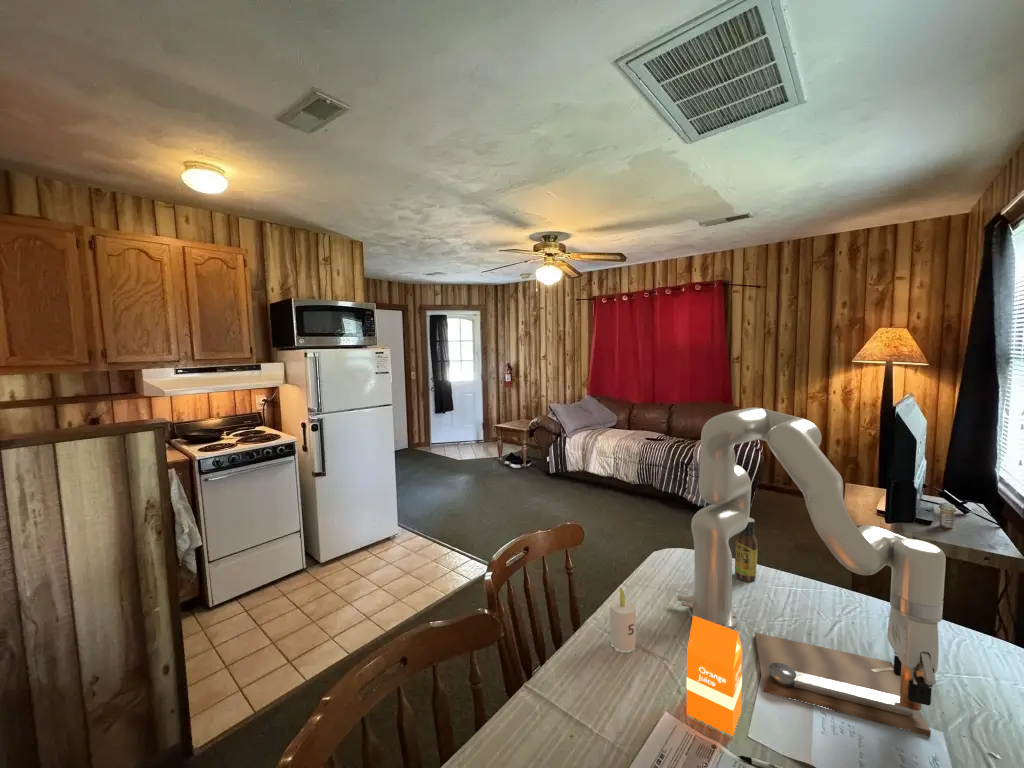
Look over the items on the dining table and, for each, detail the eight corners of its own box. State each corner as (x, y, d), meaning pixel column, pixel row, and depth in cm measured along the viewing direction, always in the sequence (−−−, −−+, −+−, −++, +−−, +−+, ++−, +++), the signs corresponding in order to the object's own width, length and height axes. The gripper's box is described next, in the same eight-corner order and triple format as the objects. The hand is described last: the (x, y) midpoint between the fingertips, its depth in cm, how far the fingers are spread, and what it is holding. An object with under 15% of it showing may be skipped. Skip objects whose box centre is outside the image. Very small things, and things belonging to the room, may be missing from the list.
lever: (770, 683, 95) (772, 634, 94) (768, 668, 99) (769, 620, 98) (925, 724, 84) (929, 668, 83) (914, 704, 88) (917, 651, 87)
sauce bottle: (730, 574, 142) (731, 516, 141) (744, 570, 144) (745, 513, 143) (746, 584, 136) (747, 523, 135) (761, 580, 138) (762, 520, 137)
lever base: (763, 691, 95) (763, 686, 94) (754, 636, 112) (754, 631, 112) (930, 736, 83) (930, 730, 83) (891, 667, 101) (891, 661, 100)
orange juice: (697, 692, 95) (698, 606, 93) (741, 713, 89) (743, 622, 88) (685, 716, 89) (686, 625, 87) (732, 740, 83) (734, 643, 82)
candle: (621, 656, 106) (621, 599, 105) (605, 640, 112) (604, 586, 111) (641, 649, 109) (641, 592, 108) (624, 633, 115) (624, 580, 114)
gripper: (876, 578, 94) (872, 655, 96) (909, 625, 79) (904, 716, 80) (920, 585, 91) (916, 664, 93) (965, 636, 75) (958, 730, 77)
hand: (911, 688), depth 86 cm, fingers open, 6 cm apart
